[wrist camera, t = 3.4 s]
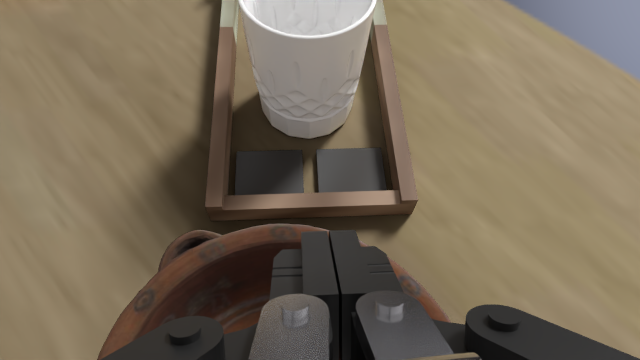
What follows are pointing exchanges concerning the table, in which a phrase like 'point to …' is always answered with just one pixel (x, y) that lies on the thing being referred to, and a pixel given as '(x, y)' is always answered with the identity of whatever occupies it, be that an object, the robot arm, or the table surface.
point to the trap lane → (287, 165)
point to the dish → (224, 282)
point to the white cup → (307, 60)
